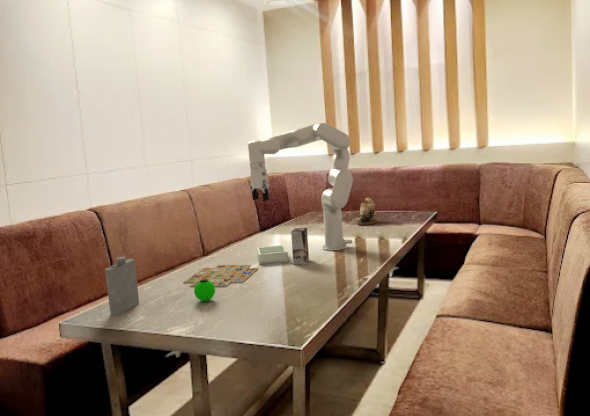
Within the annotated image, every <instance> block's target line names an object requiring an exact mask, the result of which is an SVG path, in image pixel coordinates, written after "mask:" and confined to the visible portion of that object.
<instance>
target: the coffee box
mask: <svg viewBox="0 0 590 416" xmlns="http://www.w3.org/2000/svg"><path fill="white" fill-rule="evenodd" d="M290 234H291V249H292V251H291V252H292V264H293V265H307V263H308V262H309V260H310V255H309V241H308V228H307V227H295V228H293V229H292V230H291V232H290Z"/></svg>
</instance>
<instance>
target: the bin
mask: <svg viewBox="0 0 590 416" xmlns="http://www.w3.org/2000/svg"><path fill="white" fill-rule="evenodd" d="M256 255H257V257H256V258H257V261H258V264H259V266H261V265H270V264H271V265H272V264H280V263H289V254H288V250H287V248H286V247H285V244H280V245H271V246H270V245H269V246H259V247H256Z"/></svg>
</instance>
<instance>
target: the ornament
mask: <svg viewBox="0 0 590 416" xmlns="http://www.w3.org/2000/svg"><path fill="white" fill-rule="evenodd" d="M201 277H202V278H203V277H205V275H202V276H201ZM193 288H194V290H193V291H194V292H193V294H194V296H195V298H197V299H198V301H201V302H208V301H210V300H211V299H213V297H214V296H215V294H216V293H215V292H216V287H214V285H213V283H212V282H211V281H208V280H207V279H205V278H204V279H202V280H200V281H199V282H198V283H197V284H196V285H195V287H193Z"/></svg>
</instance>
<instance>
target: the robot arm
mask: <svg viewBox="0 0 590 416" xmlns="http://www.w3.org/2000/svg"><path fill="white" fill-rule="evenodd" d="M318 141H323V142H325V143H326V144H327V146H328V147H329V148H330V150H331V152H332V156H333V157H332V163H331V166H330V169H329V170H330V171H329V173H328V178H327V179H328V180H327V181H328V183H329V185H331V186H332V188H327V189H325V190H324V191H323V192H322V194H321V195H320V196H321V197H320V199H321V201H320V202H321V206H322V213H323V226H324V227H323V228H324V229H323V231H324V244H323V245H322V249H323V250H324V251H329V250H330V251H331V252H333V250H335V251H341V249H342V250H345V249H346V248H347V245H348V244H349V245H350V244H353V240H352V239H344V233H343V216H342V215H343V214H342V208H344V207H345V206H346V205H347V203H348V201H349V197H350V193H351V191H352V186H353V181H354V179H353V174H352V173H351V172H350V171H349V170H348V168H349V164H350V152H349V148H350V146H351V144H352V143H351V142H352V141H351V138H350V136H349V135H348V134H346V133H345V132H343V131H341V130H340V129H338V128H336V127H334V126H332V125H330V124H329V123H325V122H317V123H313V124H311V125H307V126H304V127H301V128H297V129H294V130H291V131H287V132H285V133H282V134H278V135H275V136H272V137H268V138H265V139H263V140H261V139H260V140H259V139H258V140H250V141H248V143H247V149H248V157H249V158H248V159H249V170H250V182H249V186H250V187H249V188H250V191H251V195H252V200H253V201H255V200H259V191H258V190H261V191H262V193H261V194H262V201H263V202H266V201H270V195H269V194H270V193H269V192H270V187H271V184H270V182H269V177H268V171H267V167H266V159H265V158H266V157H265V155H276V154H277V153H279V151H281V150H285V149H292V148H298V147H299V148H300V147H302V146H305V145H308V144H311V143H314V142H318ZM344 248H345V249H344Z"/></svg>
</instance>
